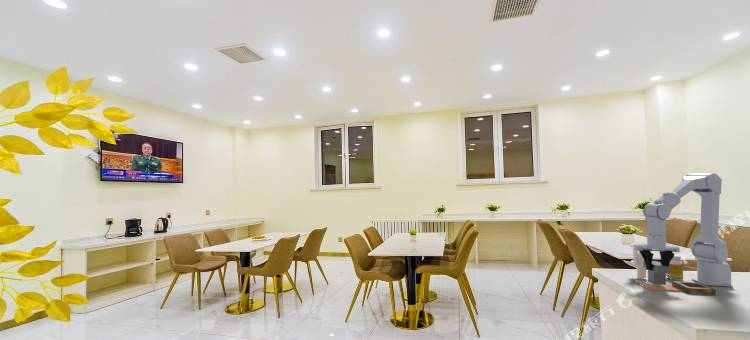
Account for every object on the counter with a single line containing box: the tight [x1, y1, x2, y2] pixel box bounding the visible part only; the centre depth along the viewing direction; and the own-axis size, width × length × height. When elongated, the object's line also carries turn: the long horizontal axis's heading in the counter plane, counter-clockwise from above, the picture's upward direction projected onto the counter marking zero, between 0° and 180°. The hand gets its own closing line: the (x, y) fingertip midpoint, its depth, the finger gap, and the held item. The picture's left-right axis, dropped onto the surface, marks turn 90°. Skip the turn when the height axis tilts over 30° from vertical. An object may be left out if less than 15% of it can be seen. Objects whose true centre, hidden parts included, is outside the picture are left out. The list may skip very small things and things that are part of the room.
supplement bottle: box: [666, 254, 684, 281], centre depth 148 cm, size 5×5×10 cm
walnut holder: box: [671, 280, 717, 296], centre depth 132 cm, size 9×9×2 cm
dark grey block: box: [644, 260, 671, 285], centre depth 136 cm, size 9×4×8 cm, turn 170°
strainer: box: [630, 242, 652, 280], centre depth 148 cm, size 7×7×15 cm
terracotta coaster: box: [634, 280, 681, 293], centre depth 136 cm, size 10×10×1 cm
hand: (656, 270), depth 137 cm, fingers closed on dark grey block, 4 cm apart
